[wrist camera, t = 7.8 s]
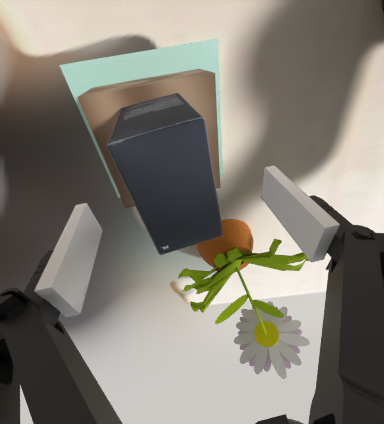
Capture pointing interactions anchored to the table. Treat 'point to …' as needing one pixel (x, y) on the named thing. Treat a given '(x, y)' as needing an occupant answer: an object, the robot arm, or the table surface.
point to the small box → (168, 171)
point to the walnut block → (144, 91)
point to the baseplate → (143, 74)
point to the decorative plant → (262, 312)
